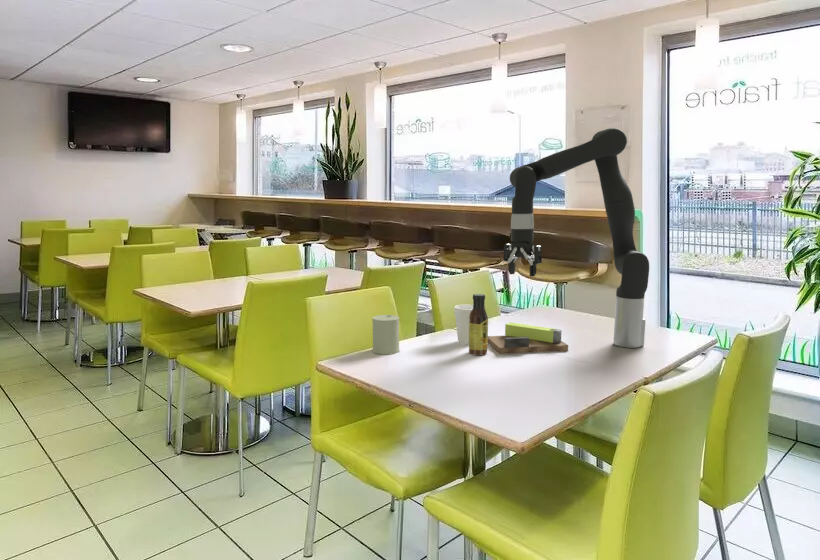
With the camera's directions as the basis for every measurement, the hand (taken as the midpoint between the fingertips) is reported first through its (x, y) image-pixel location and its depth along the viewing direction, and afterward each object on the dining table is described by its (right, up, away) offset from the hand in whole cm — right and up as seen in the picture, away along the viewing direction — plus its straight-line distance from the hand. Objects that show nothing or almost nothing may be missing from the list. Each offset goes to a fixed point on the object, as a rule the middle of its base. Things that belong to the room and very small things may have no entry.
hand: (522, 275), depth 193 cm
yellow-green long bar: (+6, -22, +8) cm, 24 cm away
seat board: (+2, -25, +6) cm, 26 cm away
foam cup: (-18, -24, +11) cm, 32 cm away
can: (-46, -26, 0) cm, 53 cm away
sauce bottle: (-15, -26, -3) cm, 31 cm away
